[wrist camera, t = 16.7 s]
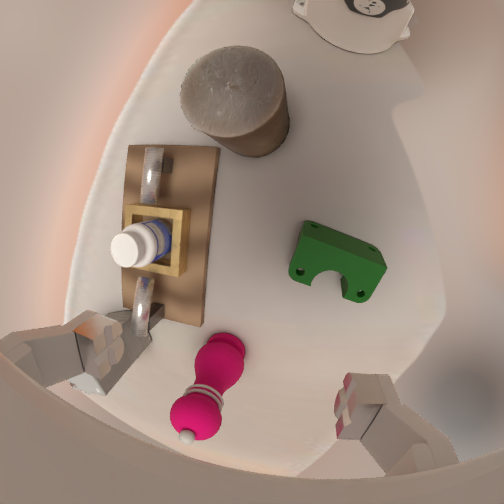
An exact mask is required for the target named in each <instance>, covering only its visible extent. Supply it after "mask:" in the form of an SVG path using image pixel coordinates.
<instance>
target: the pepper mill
mask: <svg viewBox="0 0 504 504" xmlns="http://www.w3.org/2000/svg"><path fill="white" fill-rule="evenodd" d="M244 356H245V348H244V345H243V343H242V342H241V341H240V340H239V339H238V338H237V337H236V336H234V335H231V334H228V333H218V334H215V335H213V336H212V337H211V338H210V339H209V341H208V342H207V344H206V345H204V346H203V347H202V348H201V349H200V350H199V351H198V353H197V356H196V359H195V374H196V380H195V383H194V384H193V385H191V386H189V387H188V388H187V389H186V391H185V393H184V394H183V397H180V398H179V399H177V400H176V401H175V403H174V404H173V405H172V408H171V411H170V420H171V423H172V426H173V427H174V429H175V430H176V431H177V432H178V433H179V440H180V441H181V442H182V443H183V444H187V445H188V444H191V443H193V442H194V440H206V439H208V438H211V437H212V436H214V435H215V434H216V433H217V432H218V430H219V428H220V426H221V422H222V416H221V413H220V412H221V410H222V407H223V405H224V401H223V398H222V395H223V393H224V392H225V391H226V390H227V389H229V388H230V387H231V386H233V385H234V384H235V383H236V382H237V381H238V380H239V378H240V377H241V375H242V373H243V370H244V361H243V359H244Z"/></svg>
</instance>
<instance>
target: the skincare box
mask: <svg viewBox="0 0 504 504" xmlns="http://www.w3.org/2000/svg"><path fill="white" fill-rule="evenodd" d="M132 312H133V310H131V311H121V312H113V313H108V314H107V315H106V317H108V318H111V319H114V320H116V321H119V322H120V323H121V325H122V333H121V335H120V337H121V338H122V340H123V342H124V353H123V355H122V358H121V360H120V361H119V362H118V363H117V364H114V365H111V366H110V367H111V371H110V372H109V373H108V374H107V375H106V376H105V377H104V378H103V379H102V380H100V379H98V378H96V377H93V376H91V375H89V374H87V373H85V372H84V373H83V374H80V375H78V376H75V377H72V378H70V379H68V381H69V383H70V384H71V386H72V388H73V389H77V390H80V391H84V392H85V393H87V394H92V393H93V394H98V395H102V396H106V395H107V394H108V392H109V391H110V390H111V389H112V388H113V386H114V385H115V384H116V383H117V382H118V380H119V379H120V378H121V377H122V376H123V374H124V373H125V372H126V371H127V370H128V368H129V367H130V366H131V365H132V364H133V363H134V361H135V360H136V359H137V358H138V357H139V355H140V354H141V353H142V352H143V351H144V350H145V348H146V347H147V346H148V345H149V344H150V343H151V341H152V340H151V337H150V335H149V332H148V330H147V336H146V337H139V336H134V335H132V334H130V330H131V321H132Z"/></svg>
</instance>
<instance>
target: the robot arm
mask: <svg viewBox="0 0 504 504" xmlns="http://www.w3.org/2000/svg"><path fill="white" fill-rule="evenodd" d="M302 5H303V6H302ZM292 12H293V13H294V14H295V15H297V16H298V17H300V18H302V19H304V20H305V21H307V22H308V23H309V24H310V25H311V26H312V28H313V29H314V30H315V31H316V32H317V33H318V34H319V35H320V36H321V37H322V38H324V39H325V40H327V41H328V42H330V43H332V44H333V45H335V46H337V47H340V48H342V49H345V50H348V51H352V52H356V53H364V54H373V53H379V52H383V51H385V50H387V49H389V48H390V47H391V46H392V45H393V44H394V43H395V42H397V41H402V40H406V39H408V38H409V36H410V30H409V27H408V23H409V21H410V19H411V17H412V15H413V13H414V7H413V6H412V3H411V0H295V2H294V5H293V8H292ZM121 333H122V325H121V323H120V322H119V321H116V320H114V319H111V318H108V317H106V316H103V315H101V314H98V313H96V312H93V311H91V310H86V311H85V312H83V313H82V314H80V315H79V316H77V317H76V318H74V319H73V320H71V321H70V322H68V323H67V324H65V325H64V326H61V325H58V326H52V327H45V328H38V329H32V330H25V331H18V332H12V333H10V334H8V335H7V336H5V337H4V338H2V339H1V340H0V504H504V447H503V448H500V449H498V450H495V451H493V452H490V453H487V454H485V455H482V456H479V457H476V458H473V459H470V460H467V461H463V462H460V463H459V460H458V458H457V456H456V453H455V451H454V448H453V446H452V443H451V441H450V439H449V438H448V437H447V436H446V435H444V434H443V433H442V432H440V431H439V430H438V429H436V428H435V427H434V426H432V425H431V424H430V423H428V422H427V421H426V420H424V419H423V418H422V417H420V416H419V415H418V414H416V413H415V412H414V411H412V410H411V409H410V408H409V407H407V406H406V405H404V404H402V405H401V403H400V401H399V398H398V395H397V393H396V390H395V388H394V385H393V383H392V380H391V378H390V376H389V375H388V374H360V373H347V375H346V376H345V378H344V380H343V383H344V388H342V389H341V390H339V392H338V394H337V397H336V400H335V405H334V414H335V416H336V417H337V418H338V421H337V423H336V434H337V439H347V440H360V442H361V443H362V444H363V446H364V447H365V448H366V449H367V451H368V452H369V453H370V454H371V456H372V457H373V458H374V459H375V460H376V462H377V463H378V464H379V465H380V467H381V468H382V469H383V470H384V472H385V473H386V475H385V476H384V477H378V478H364V479H310V478H295V477H285V476H276V475H268V474H261V473H255V472H249V471H243V470H238V469H233V468H229V467H224V466H220V465H216V464H212V463H208V462H204V461H200V460H197V459H193V458H190V457H187V456H184V455H180V454H177V453H174V452H171V451H169V450H166V449H163V448H160V447H157V446H155V445H152V444H149V443H147V442H144V441H142V440H140V439H137V438H135V437H133V436H130V435H128V434H126V433H124V432H121V431H119V430H117V429H115V428H113V427H111V426H109V425H107V424H105V423H103V422H101V421H99V420H97V419H96V418H94V417H92V416H90V415H88V414H86V413H85V412H83V411H81V410H79V409H78V408H76V407H74V406H73V405H71V404H69V403H68V402H66V401H64V400H63V399H61V398H60V397H58V396H57V395H55V394H54V393H52V392H51V391H49V390H48V389H46V387H48V386H51V385H54V384H56V383H59V382H62V381H64V380H67V379H70V378H72V377H75V376H78V375H80V374H83V373H84V372H85V373H87V374H89V375H91V376H93V377H96V378H98V379H100V380H102V379H103V378H104V377H105V376H106V375H107V374H108V373H109V372H110V371H111V367H110V366H111V365H114V364H117V363H118V362H119V361H120V360H121V358H122V355H123V353H124V342H123V340H122V338H121V337H120V335H121Z"/></svg>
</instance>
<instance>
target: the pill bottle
mask: <svg viewBox="0 0 504 504" xmlns="http://www.w3.org/2000/svg"><path fill="white" fill-rule="evenodd" d="M172 231H173V225H172V224H171V223H170V222H168V221H167V220H164V219H152V220H148V221H144V222H140V223H135V224H131V225H129V226H127V227H126V228H124V229H123V231H122V232H121V233H120V234H117V235H116V236H115V237H114V238H113V240H112V243H111V253H112V256H113V258H114V260H115V261H116V263H117V264H119V265H120V266H122V267H131V266H133V267H144V266H146V265H148V264H150V263H152V262H154V261H156V260H158V259H160V258H162V257H163V256H165V255H167V254H169V253H170V252H171V247H172Z"/></svg>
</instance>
